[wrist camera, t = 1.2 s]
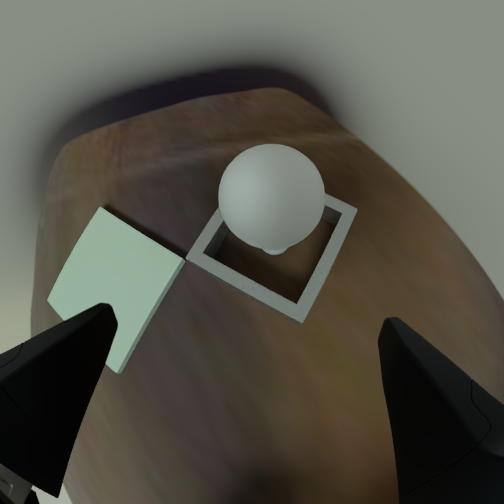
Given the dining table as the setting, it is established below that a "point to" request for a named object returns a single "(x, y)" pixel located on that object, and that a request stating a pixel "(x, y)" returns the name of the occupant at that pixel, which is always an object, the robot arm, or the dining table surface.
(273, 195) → the lightbulb
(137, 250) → the green mat
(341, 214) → the grey square frame
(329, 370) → the dining table surface
